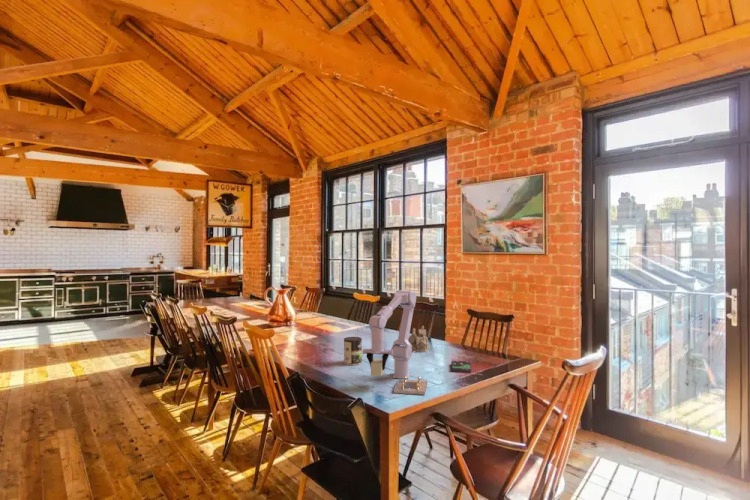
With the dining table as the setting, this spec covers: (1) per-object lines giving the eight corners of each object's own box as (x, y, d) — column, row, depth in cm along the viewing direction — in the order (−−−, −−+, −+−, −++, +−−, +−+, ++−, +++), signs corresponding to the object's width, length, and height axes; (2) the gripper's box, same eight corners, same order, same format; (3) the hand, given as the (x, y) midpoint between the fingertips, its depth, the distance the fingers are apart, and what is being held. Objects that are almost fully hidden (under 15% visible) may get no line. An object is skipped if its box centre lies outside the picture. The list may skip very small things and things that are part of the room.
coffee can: (363, 360, 244) (363, 336, 244) (359, 365, 234) (359, 340, 234) (346, 360, 246) (346, 336, 246) (341, 364, 236) (341, 340, 236)
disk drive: (451, 365, 236) (451, 372, 221) (451, 360, 236) (451, 367, 221) (469, 366, 234) (471, 373, 219) (469, 361, 234) (471, 368, 219)
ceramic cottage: (408, 345, 282) (408, 323, 281) (432, 347, 277) (432, 325, 276) (402, 352, 267) (402, 329, 266) (427, 355, 262) (427, 331, 261)
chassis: (398, 382, 204) (398, 374, 204) (427, 384, 201) (427, 375, 201) (393, 393, 190) (393, 384, 190) (424, 395, 187) (424, 386, 187)
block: (374, 370, 204) (374, 358, 203) (384, 371, 203) (384, 358, 202) (370, 375, 196) (370, 362, 196) (381, 376, 195) (381, 363, 195)
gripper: (360, 342, 197) (361, 370, 197) (391, 343, 194) (391, 372, 194) (364, 338, 204) (364, 366, 204) (393, 340, 201) (393, 368, 201)
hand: (377, 369), depth 199 cm, fingers closed on block, 5 cm apart
